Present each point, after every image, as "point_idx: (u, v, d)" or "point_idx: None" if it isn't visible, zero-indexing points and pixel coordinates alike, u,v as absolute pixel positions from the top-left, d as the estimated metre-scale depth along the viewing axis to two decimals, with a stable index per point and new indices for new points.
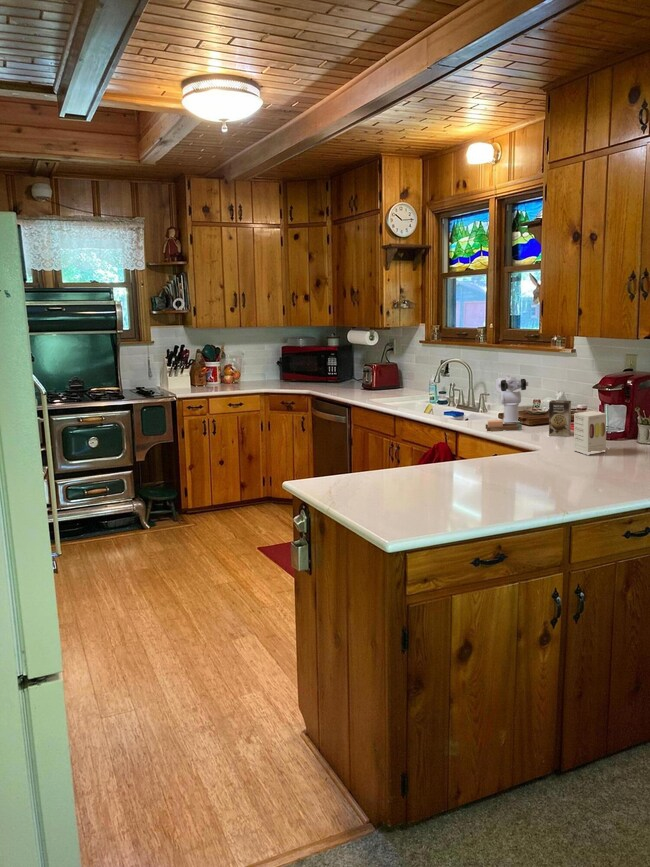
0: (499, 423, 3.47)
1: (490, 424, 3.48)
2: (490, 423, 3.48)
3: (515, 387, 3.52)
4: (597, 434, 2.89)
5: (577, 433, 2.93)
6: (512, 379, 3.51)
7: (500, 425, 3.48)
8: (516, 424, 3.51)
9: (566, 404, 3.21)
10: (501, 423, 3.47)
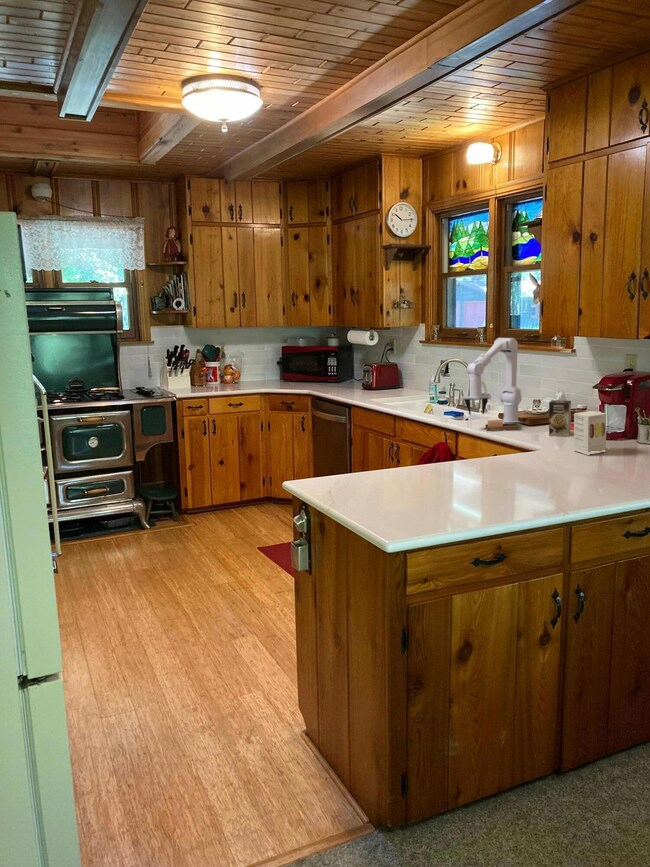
0: (499, 423, 3.47)
1: (490, 424, 3.48)
2: (490, 423, 3.48)
3: None
4: (597, 434, 2.89)
5: (577, 433, 2.93)
6: None
7: (500, 425, 3.48)
8: (516, 424, 3.51)
9: (566, 404, 3.21)
10: (501, 423, 3.47)
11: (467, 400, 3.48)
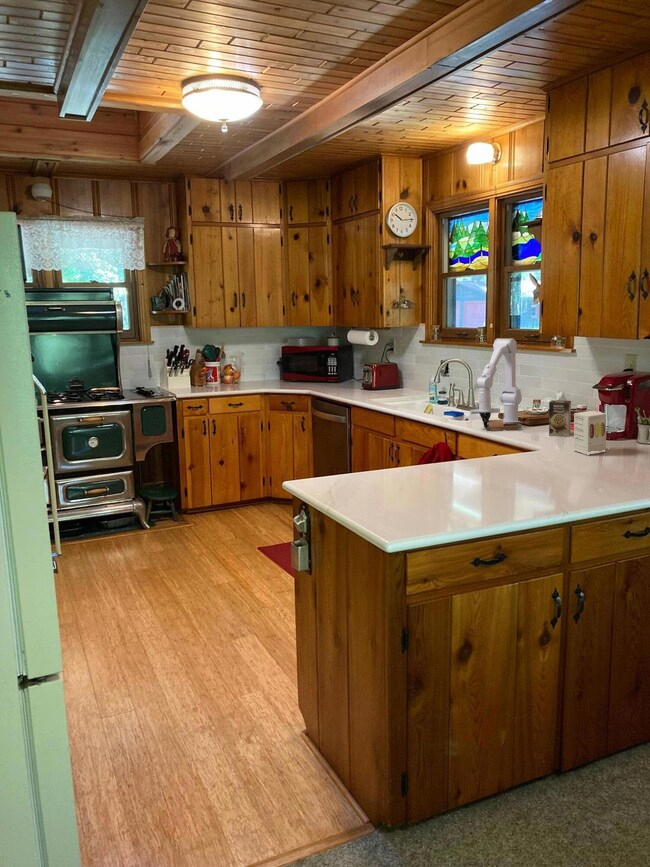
0: (500, 423, 3.47)
1: (491, 424, 3.48)
2: (491, 423, 3.48)
3: None
4: (597, 434, 2.89)
5: (577, 433, 2.93)
6: (485, 412, 3.46)
7: (501, 425, 3.48)
8: (516, 424, 3.51)
9: (566, 404, 3.21)
10: (502, 423, 3.47)
11: (476, 413, 3.49)
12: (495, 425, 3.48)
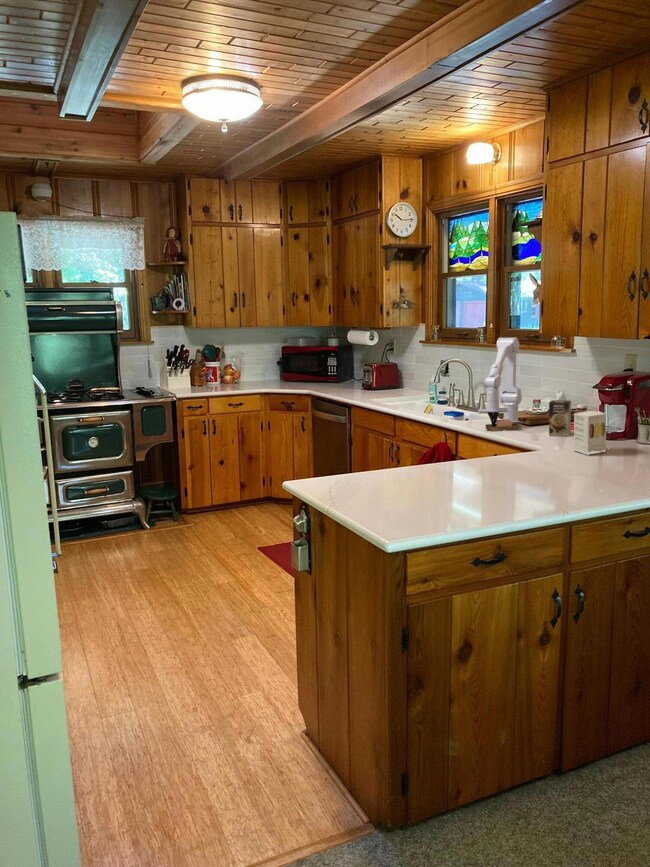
0: (508, 422, 3.47)
1: (499, 423, 3.47)
2: (499, 422, 3.47)
3: None
4: (597, 434, 2.89)
5: (577, 433, 2.93)
6: (493, 411, 3.46)
7: (509, 424, 3.47)
8: (516, 424, 3.51)
9: (566, 404, 3.21)
10: (510, 422, 3.47)
11: None
12: (503, 425, 3.47)
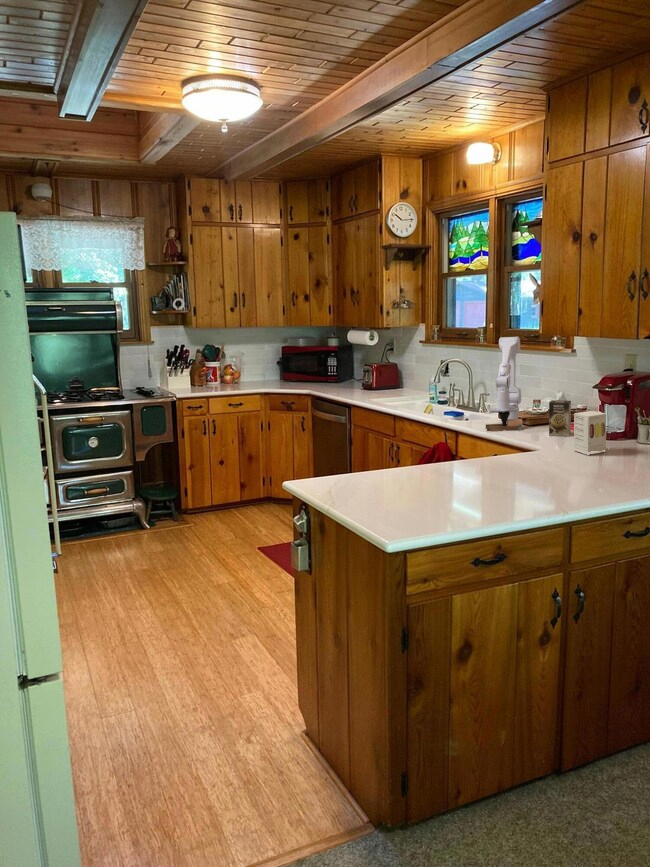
0: (519, 422, 3.46)
1: (509, 423, 3.47)
2: (509, 422, 3.46)
3: None
4: (597, 434, 2.89)
5: (577, 433, 2.93)
6: (504, 411, 3.45)
7: None
8: None
9: (566, 404, 3.21)
10: (521, 422, 3.46)
11: None
12: (514, 424, 3.46)
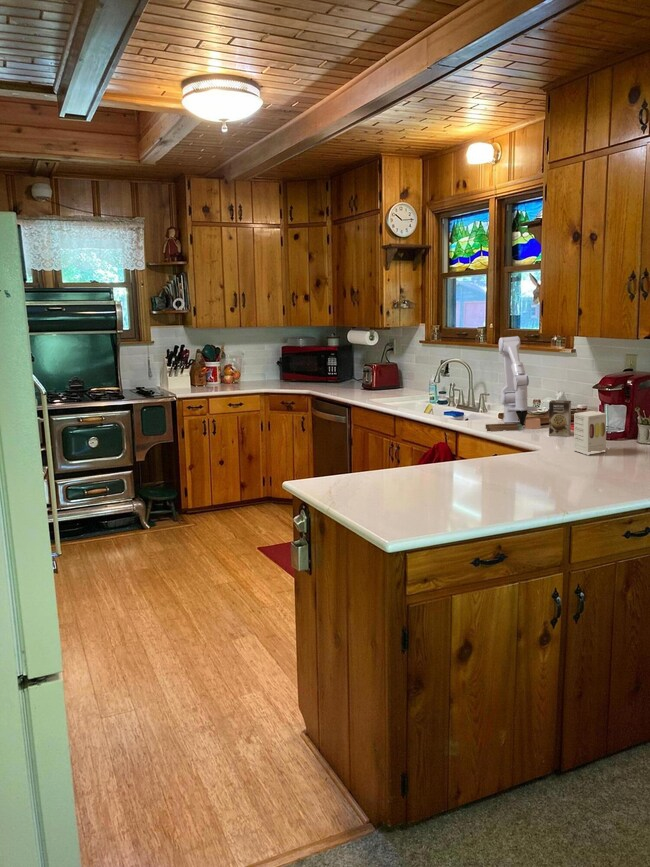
0: (536, 421, 3.44)
1: (527, 422, 3.45)
2: (527, 421, 3.45)
3: None
4: (597, 434, 2.89)
5: (577, 433, 2.93)
6: (521, 410, 3.44)
7: (537, 423, 3.45)
8: (516, 424, 3.51)
9: (566, 404, 3.21)
10: (539, 421, 3.44)
11: (513, 412, 3.46)
12: (532, 423, 3.45)
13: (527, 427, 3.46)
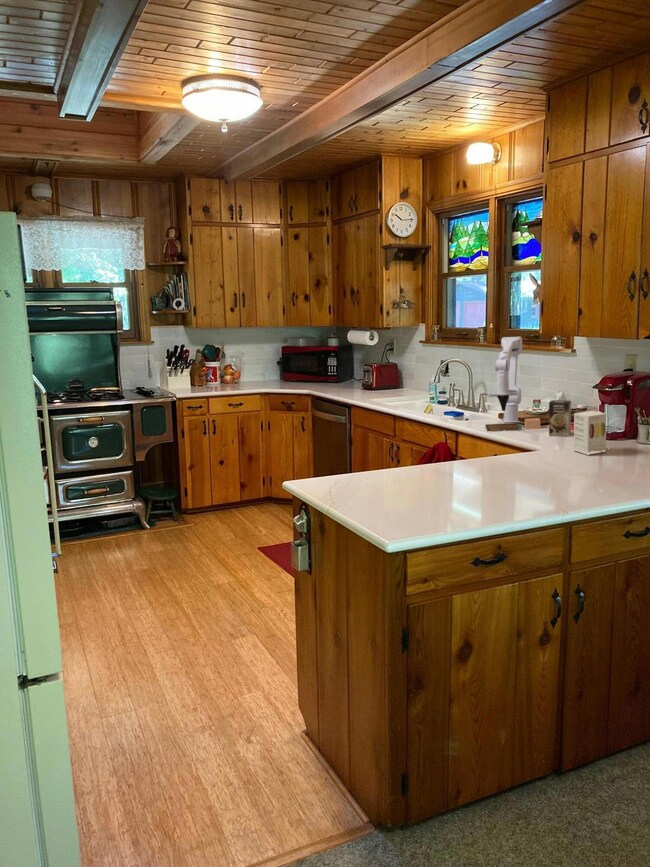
0: (537, 421, 3.45)
1: (527, 422, 3.45)
2: (527, 421, 3.45)
3: None
4: (597, 434, 2.89)
5: (577, 433, 2.93)
6: (503, 394, 3.44)
7: (538, 423, 3.45)
8: (516, 424, 3.51)
9: (566, 404, 3.21)
10: (539, 421, 3.44)
11: (494, 396, 3.47)
12: (532, 424, 3.45)
13: (527, 427, 3.46)
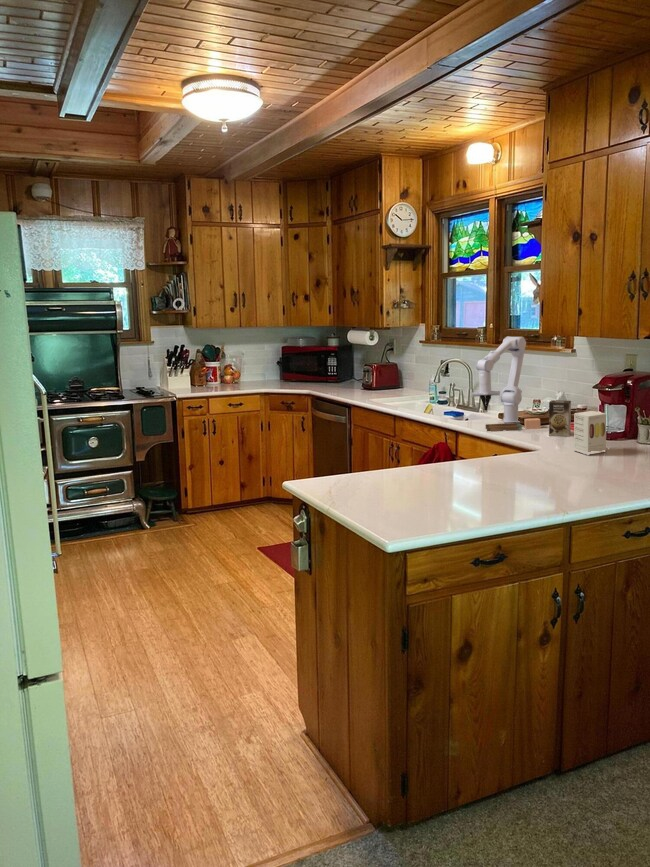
0: (537, 421, 3.45)
1: (527, 422, 3.45)
2: (527, 421, 3.45)
3: None
4: (597, 434, 2.89)
5: (577, 433, 2.93)
6: (485, 394, 3.48)
7: (538, 423, 3.45)
8: (516, 424, 3.51)
9: (566, 404, 3.21)
10: (539, 421, 3.44)
11: None
12: (532, 424, 3.45)
13: (527, 427, 3.46)
